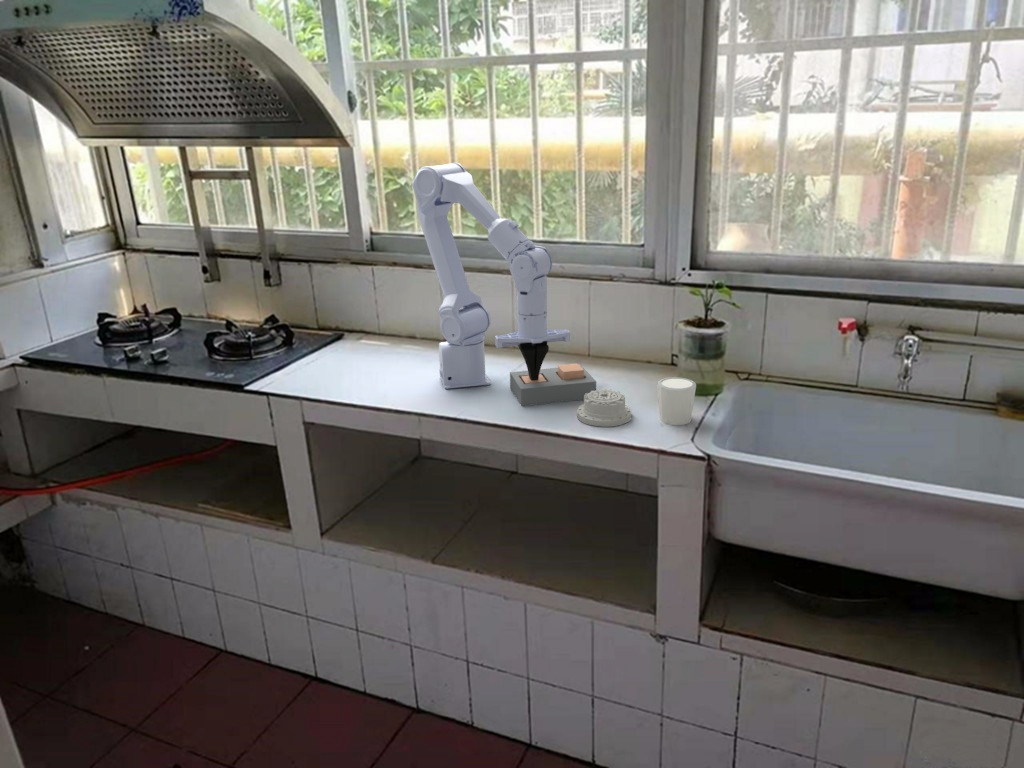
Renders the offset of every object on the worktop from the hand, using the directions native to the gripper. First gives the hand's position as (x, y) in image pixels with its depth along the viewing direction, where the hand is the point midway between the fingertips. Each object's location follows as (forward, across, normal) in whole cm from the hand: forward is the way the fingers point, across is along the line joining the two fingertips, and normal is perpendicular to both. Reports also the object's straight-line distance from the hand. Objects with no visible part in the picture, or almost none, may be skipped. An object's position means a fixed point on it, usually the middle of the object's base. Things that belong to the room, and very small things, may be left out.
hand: (533, 378), depth 157 cm
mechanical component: (+4, +10, -14) cm, 18 cm away
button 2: (+2, +8, 0) cm, 8 cm away
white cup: (+4, +22, -19) cm, 29 cm away
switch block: (+3, +4, 0) cm, 5 cm away
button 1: (+3, 0, 0) cm, 3 cm away
